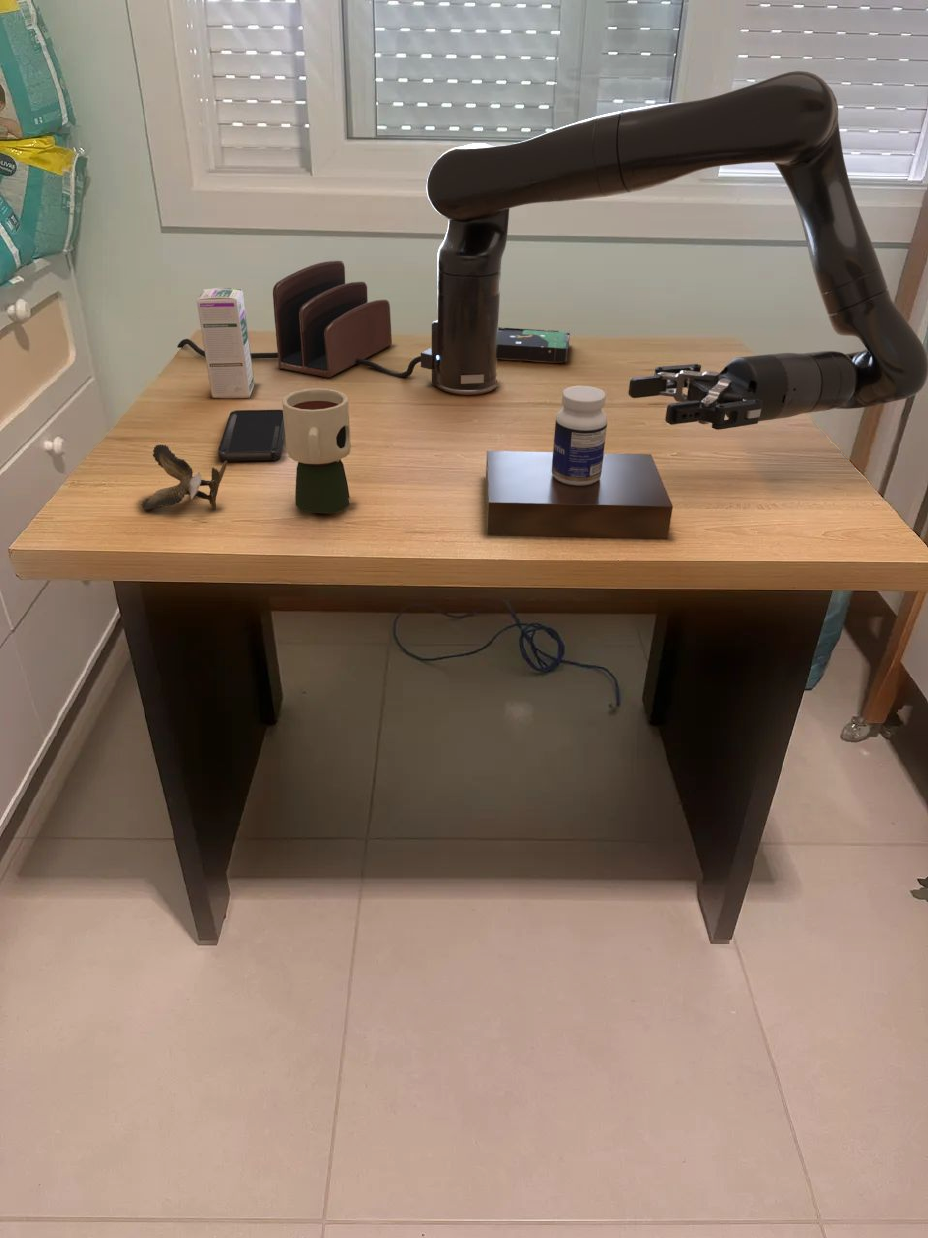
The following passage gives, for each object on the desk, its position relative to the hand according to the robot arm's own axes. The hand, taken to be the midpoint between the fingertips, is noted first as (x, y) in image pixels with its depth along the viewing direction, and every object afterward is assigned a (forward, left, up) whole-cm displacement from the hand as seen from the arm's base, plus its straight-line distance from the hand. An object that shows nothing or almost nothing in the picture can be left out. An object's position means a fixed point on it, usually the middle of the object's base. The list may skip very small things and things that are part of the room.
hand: (648, 401), depth 100 cm
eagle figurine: (-44, -30, -12) cm, 55 cm away
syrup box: (-65, +1, -12) cm, 66 cm away
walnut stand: (-5, -7, -12) cm, 15 cm away
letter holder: (-62, +23, -12) cm, 67 cm away
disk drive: (-37, +43, -12) cm, 58 cm away
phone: (-50, -11, -12) cm, 52 cm away
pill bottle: (-5, -6, -8) cm, 12 cm away
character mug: (-30, -22, -12) cm, 39 cm away
